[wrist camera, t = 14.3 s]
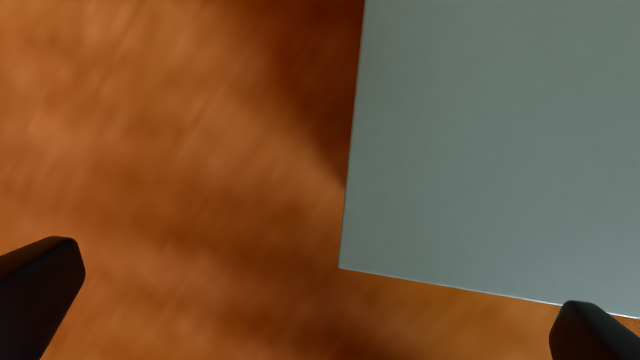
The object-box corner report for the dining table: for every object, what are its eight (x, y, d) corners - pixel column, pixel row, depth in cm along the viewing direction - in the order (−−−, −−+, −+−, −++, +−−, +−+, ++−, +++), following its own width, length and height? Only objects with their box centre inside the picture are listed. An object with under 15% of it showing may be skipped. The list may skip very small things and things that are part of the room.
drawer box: (386, -15, 17) (372, -85, 11) (726, -1, 15) (980, -80, 8) (360, 210, 19) (336, 268, 13) (655, 252, 17) (812, 349, 10)
